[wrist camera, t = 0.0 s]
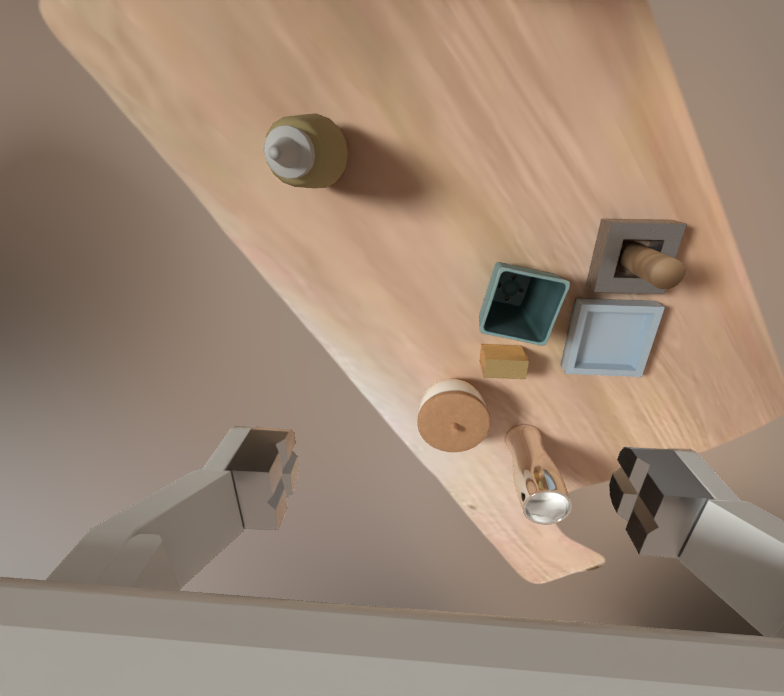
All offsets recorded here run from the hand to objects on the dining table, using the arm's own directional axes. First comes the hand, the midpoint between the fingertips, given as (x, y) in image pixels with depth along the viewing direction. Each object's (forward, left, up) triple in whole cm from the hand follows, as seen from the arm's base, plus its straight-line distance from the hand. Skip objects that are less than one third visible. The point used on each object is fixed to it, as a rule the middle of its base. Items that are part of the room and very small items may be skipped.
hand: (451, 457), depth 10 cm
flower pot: (+10, +12, -48) cm, 51 cm away
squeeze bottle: (-7, -14, -48) cm, 51 cm away
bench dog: (+21, +12, -48) cm, 54 cm away
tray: (+17, +27, -48) cm, 58 cm away
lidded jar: (+29, +5, -48) cm, 57 cm away
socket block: (+5, +27, -48) cm, 55 cm away
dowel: (+5, +27, -48) cm, 55 cm away
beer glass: (+37, +18, -48) cm, 64 cm away
